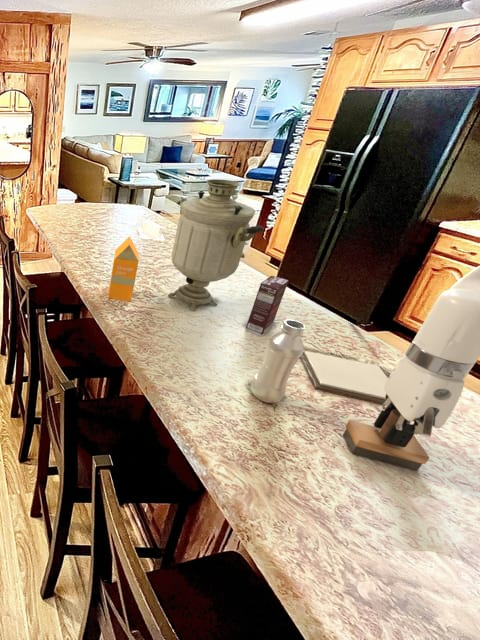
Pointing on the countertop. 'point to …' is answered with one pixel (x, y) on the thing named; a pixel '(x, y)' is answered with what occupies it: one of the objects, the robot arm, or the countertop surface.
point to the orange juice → (124, 271)
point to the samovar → (210, 240)
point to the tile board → (346, 377)
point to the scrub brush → (384, 444)
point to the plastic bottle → (279, 362)
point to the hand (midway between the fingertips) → (388, 435)
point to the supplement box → (266, 305)
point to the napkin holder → (151, 231)
